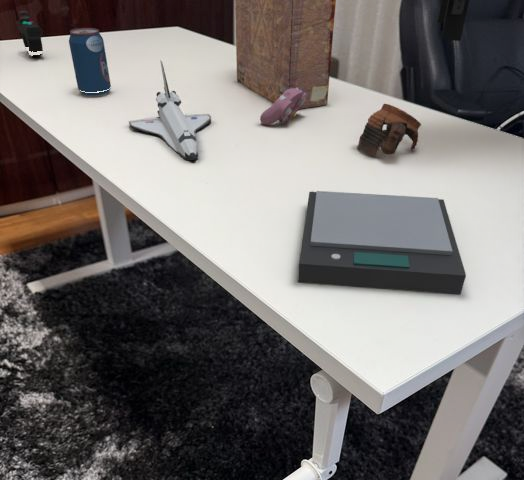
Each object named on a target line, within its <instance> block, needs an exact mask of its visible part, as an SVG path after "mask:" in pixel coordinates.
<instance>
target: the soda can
mask: <svg viewBox="0 0 524 480" xmlns="http://www.w3.org/2000/svg"><path fill="white" fill-rule="evenodd" d="M69 33H70V34H69V39H68V45H69V50H70V55H71V60H72V64H73V65H72V66H73V70H74V75H75V80H76V86H77V89H78V91H79V90H81V91H85V92H97V91H103V90H107V89H109V88H110V87H111V88H112V84H111V78H110V73H109V71H110V70H109V65H108V60H107V54H106V48H105V42H104V38H103V36H102V34H101V33H100V30H99V29H98V28H93V27H81V28H80V27H79V28H73V29H71V30H70V31H69ZM111 88H110V89H109V90H107V91H104V92H99V93H85V92H81V91H79V92H80V94H81V95H82V96H83V97H87V98H99V97H100V98H101V97H104V96H107V95H109V93H110V91H111Z"/></svg>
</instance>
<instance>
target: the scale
mask: <svg viewBox="0 0 524 480" xmlns="http://www.w3.org/2000/svg"><path fill="white" fill-rule="evenodd" d="M303 227H304V228H303V233H302V241H301V248H300V253H299V254H300V255H299V260H298V262H299V263H298V275H297V282H298V283H303V284H304V283H305V284H317V285H329V286H330V285H331V286H344V287H356V288H357V287H359V288H369V289H371V288H372V289H382V290H384V289H385V290H396V291H397V290H398V291H409V292H410V291H411V292H425V293H437V294H438V293H439V294H451V295H461V294H462V291H463V287H464V283H465V280H466V277H467V273H466V270H465V268H464V264H463V261H462V256H461V254H460V250H459V247H458V244H457V240H456V237H455V234H454V233H455V232H454V229H453V227H452V223H451V220H450V216H449V212H448V210H447V206H446V203H445V200H444V199H443V198H441V199H440V198H438V197H427V196H426V197H425V196H413V195H412V196H411V195H394V194H393V195H392V194H377V193H376V194H375V193H360V192H359V193H358V192H344V191H343V192H342V191H340V192H339V191H324V190H316V191H309V192H308V199H307V205H306V213H305V219H304V226H303Z"/></svg>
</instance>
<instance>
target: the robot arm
mask: <svg viewBox="0 0 524 480" xmlns="http://www.w3.org/2000/svg"><path fill="white" fill-rule="evenodd" d="M469 3H470V0H440V4H439V5H440V6H439V11H438V17H437V21H436V22H437V24H443V26H442V31H441V37H440V40H441V41H452V42H453V41H456V42H461V40H462V36H463V31H464V27H465V22H466V17H467V12H468V8H469Z"/></svg>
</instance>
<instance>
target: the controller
mask: <svg viewBox="0 0 524 480" xmlns="http://www.w3.org/2000/svg"><path fill="white" fill-rule="evenodd" d="M18 13H19V14H20V15H21V16H20V17H19V19H18V20H16V24H17V27H18V30H19V33H20V35H21V38H22V42H23V45H24V48H25V47H29V51H31V52H32V51H33V52H37V51H43V52H44V49H43V48H44V47H43V42H42V36H43V34H44V33H43V29H42V28H41V27H40V25H38V24H37V22H36V21H35V20H33V19H32V18H31V17H29V16H28V15H27V14H28V11H27V10H20V11H19V12H18ZM33 56H40V57H41V56H43V54H40V55H33Z"/></svg>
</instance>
